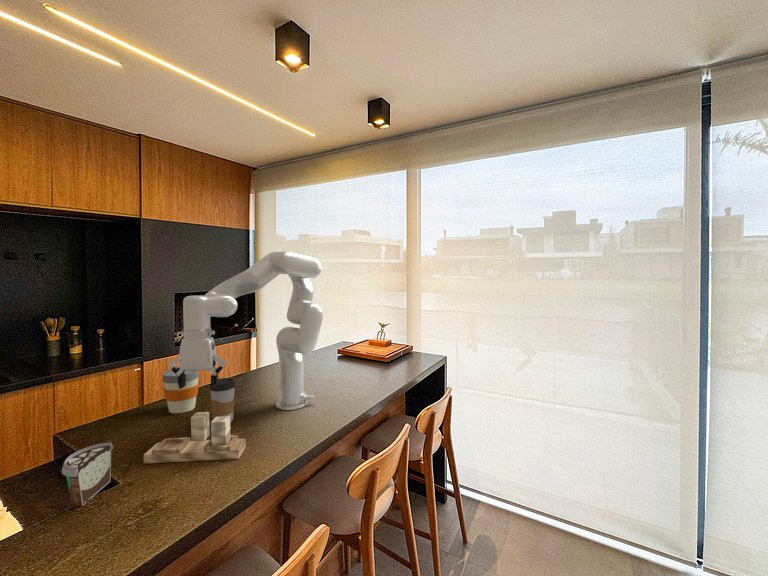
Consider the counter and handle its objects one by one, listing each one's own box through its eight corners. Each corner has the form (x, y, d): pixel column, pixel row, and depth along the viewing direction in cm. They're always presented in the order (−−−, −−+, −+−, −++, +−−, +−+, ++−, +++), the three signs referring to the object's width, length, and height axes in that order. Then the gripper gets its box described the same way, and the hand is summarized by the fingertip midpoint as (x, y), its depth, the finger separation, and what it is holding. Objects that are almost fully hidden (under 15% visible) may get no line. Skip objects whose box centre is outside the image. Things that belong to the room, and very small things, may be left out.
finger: (197, 435, 115) (197, 411, 115) (210, 434, 116) (209, 411, 115) (191, 442, 111) (190, 417, 110) (204, 441, 111) (203, 417, 111)
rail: (245, 446, 108) (245, 413, 108) (238, 458, 101) (237, 423, 101) (157, 450, 106) (156, 416, 105) (143, 463, 99) (142, 427, 98)
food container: (89, 479, 91) (87, 442, 91) (114, 478, 92) (112, 441, 91) (48, 511, 79) (46, 469, 79) (77, 510, 80) (75, 468, 79)
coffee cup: (241, 418, 128) (240, 378, 127) (223, 428, 120) (222, 386, 119) (223, 415, 131) (222, 376, 130) (205, 425, 123) (203, 383, 122)
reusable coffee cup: (183, 416, 130) (182, 377, 129) (155, 413, 132) (153, 375, 131) (207, 403, 142) (206, 367, 141) (180, 401, 144) (179, 365, 144)
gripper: (229, 332, 116) (230, 382, 116) (174, 332, 114) (175, 383, 115) (221, 336, 108) (222, 390, 109) (162, 336, 106) (163, 391, 107)
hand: (198, 386), depth 112 cm, fingers open, 9 cm apart
